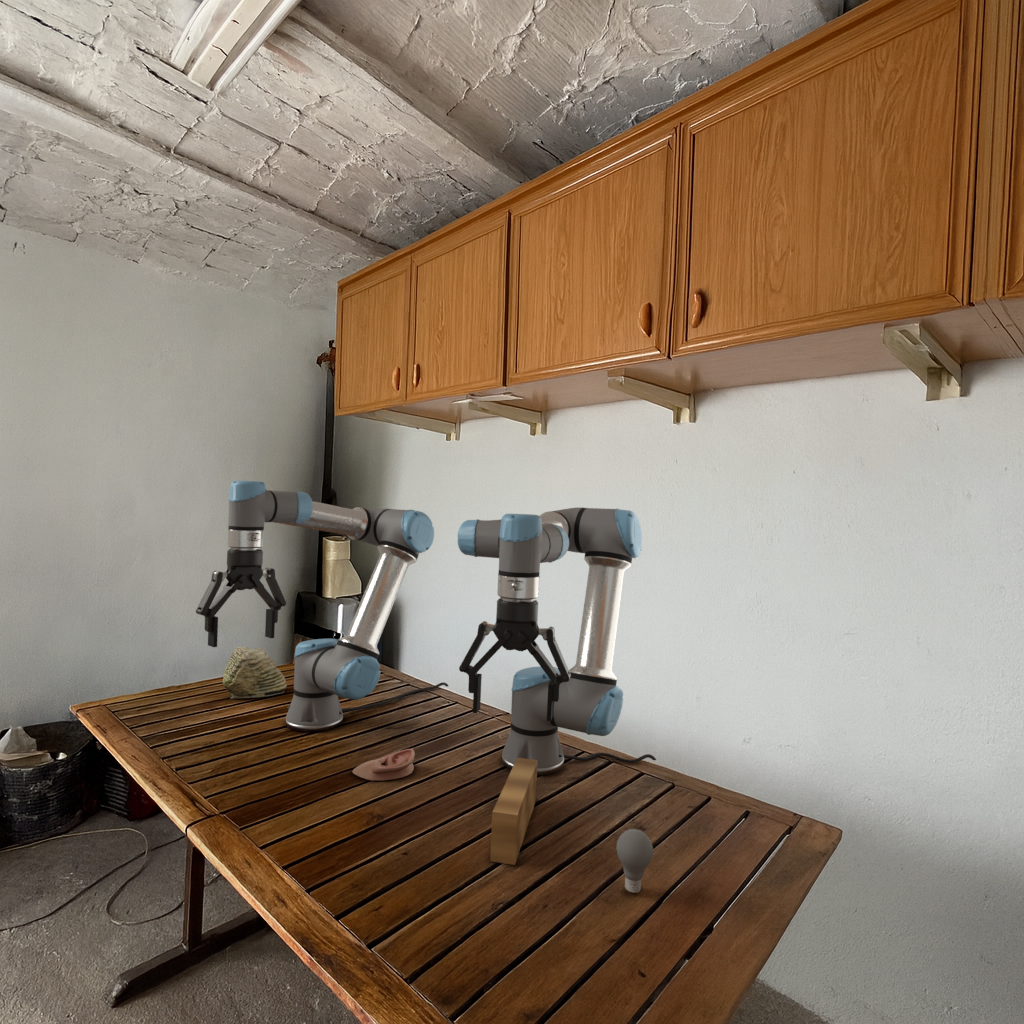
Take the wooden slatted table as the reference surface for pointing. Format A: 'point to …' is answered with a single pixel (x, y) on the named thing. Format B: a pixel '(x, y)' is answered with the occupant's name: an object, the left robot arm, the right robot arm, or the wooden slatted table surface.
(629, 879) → the light bulb
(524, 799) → the bar
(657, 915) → the wooden slatted table surface
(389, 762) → the anatomical model
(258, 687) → the fossil
